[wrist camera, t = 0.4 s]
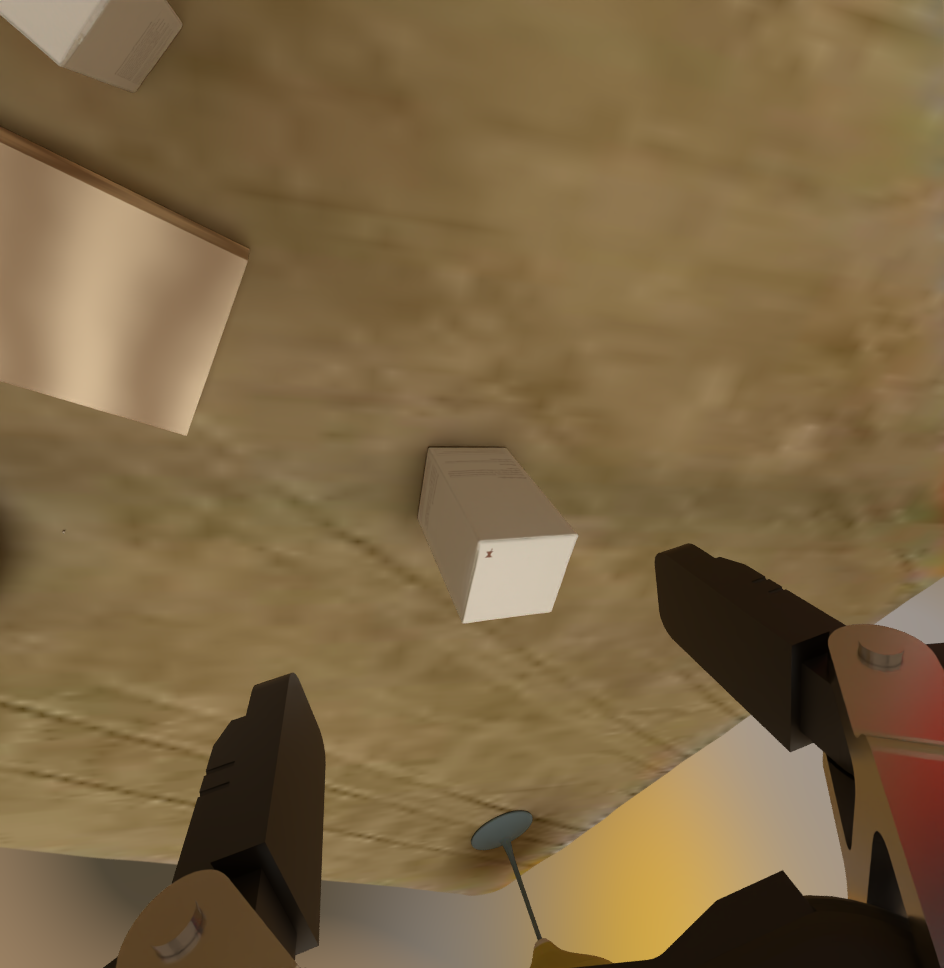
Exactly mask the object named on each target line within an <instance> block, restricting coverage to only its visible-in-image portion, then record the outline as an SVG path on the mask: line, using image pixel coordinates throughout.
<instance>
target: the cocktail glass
mask: <svg viewBox="0 0 944 968" xmlns="http://www.w3.org/2000/svg"><path fill="white" fill-rule="evenodd" d="M531 823H532V815H531V814H530V813H529V812H527V811H513V812H509V813H505V814H502V815H500V816H498V817H496V818H494V819H492V820H490V821H489V822H487V823H486V824H484V825H483V826H482V827H480V828H479V829H478V830H477V831H476V833H475V834H474V835H473V837H472V840H471V844H472V846H473V847H474V848H475V849H478V850H489V849H493V848H497V847H500V846H502V845H503V847H504V849H505V851H506V853H507V855H508V857H509V860H510V862H511V865H512V867H513V870H514V873H515V876H516V879H517V881H518V884H519V887H520V890H521V893H522V896H523V898H524V901H525V904H526V907H527V910H528V913H529V915H530V919H531V921H532V924H533V927H534V930H535V933H536V936H537V939H538V941H537V942H536V944H535V947H534V951H533V958H532V964H531V967H530V968H574V967H583V966H593V965H603V964H613V963H612V962H610V961H608V960H606V959H604V958H601V957H597V956H592V955H586V954H578V953H572V952H567V951H564V950H561V949H559V948H558V947H557V946H555V945H554V944H553V943H552V942H551V941H549V940H547V939H546V938H542V937H541V934H540V932H539V929H538V926H537V923H536V920H535V917H534V915H533V912H532V909H531V906H530V903H529V900H528V897H527V894H526V891H525V888H524V885H523V882H522V880H521V876H520V873H519V870H518V867H517V864H516V861H515V858H514V854H513V850H512V845H511V841H513V840H514V839H516V838H517V837H519V836H520V835H521V834H523V833H524V832H525V831H526V830H527V829H528V828H529V826H530V825H531Z"/></svg>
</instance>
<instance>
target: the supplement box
mask: <svg viewBox="0 0 944 968" xmlns="http://www.w3.org/2000/svg"><path fill="white" fill-rule="evenodd" d="M418 521H419V524H420V526H421V528H422V530H423V533H424V535H425V537H426V540H427V542H428V545H429V547H430V549H431V551H432V554H433V556H434V558H435V561H436V563H437V565H438V568H439V570H440V573H441V575H442V577H443V580H444V582H445V584H446V586H447V589H448V591H449V593H450V596H451V598H452V600H453V603H454V605H455V607H456V610H457V612H458V614H459V617H460V619H461V621H462V623H471V622H478V621H485V620H492V619H500V618H508V617H515V616H523V615H531V614H539V613H547V612H551V611H552V608H553V605H554V602H555V599H556V597H557V594H558V591H559V588H560V585H561V582H562V579H563V576H564V573H565V570H566V567H567V564H568V561H569V559H570V556H571V554H572V551H573V548H574V545H575V543H576V540H577V537H578V534H577V533H576V532H575V531H574V530H573V528H572V527H571V526H570V525H569V524H568V522H567V521H566V520H565V519H564V518H563V516H562V515H561V514H560V513H559V511H558V510H557V509H556V508H555V507H554V505H553V504H552V503H551V502H550V501H549V499H548V498H547V497H546V496H545V494H544V493H543V492H542V491H541V490H540V488H539V487H538V486H537V485H536V483H535V482H534V481H533V480H532V479H531V477H530V476H529V475H528V474H527V473H526V471H525V470H524V469H523V468H522V466H521V465H520V464H519V463H518V462H517V460H516V459H515V458H514V457H513V456H512V454H511V453H510V452H509V451H508V450H507V448H428V452H427V459H426V465H425V472H424V478H423V485H422V491H421V498H420V505H419V512H418Z"/></svg>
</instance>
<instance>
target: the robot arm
mask: <svg viewBox="0 0 944 968" xmlns="http://www.w3.org/2000/svg"><path fill="white" fill-rule="evenodd" d="M655 572H656V582H657V593H658V603H659V612H660V617H661V620H662V622H663V625H664V627H665V629H666V631H667V632H668V634H669V635H670V636H671V638H672V639H673V640H674V641H675V642H676V643H677V644H678V645H679V646H680V647H681V648H682V649H683V650H685V651H686V652H687V653H688V654H689V655H690V656H691V657H692V658H693V659H694V660H695V661H696V662H697V663H698V664H699V665H700V666H701V667H702V668H703V669H704V670H705V671H706V672H707V673H708V674H709V675H710V676H712V677H713V678H714V679H715V680H716V681H717V682H718V683H719V684H720V685H721V686H722V687H723V688H724V689H725V690H726V691H727V692H728V693H729V694H730V695H731V696H732V697H733V698H734V699H735V700H736V701H738V702H739V703H740V704H741V705H742V706H743V707H744V708H745V709H746V710H747V711H748V712H749V713H750V714H751V715H752V716H753V717H754V718H755V719H756V720H757V721H759V723H760V724H761V725H762V726H763V727H765V728H766V729H767V730H768V731H769V732H770V733H771V734H772V735H773V736H774V737H775V738H776V739H777V740H778V741H779V742H780V743H781V744H782V745H783V746H784V747H785V748H786V749H787V750H788V751H789V752H792V751H795V750H797V749H799V748H802V747H804V746H807V745H809V744H811V743H815V744H816V745H817V746H818V747H819V748H820V749H821V750H822V751H823V768H824V772H825V777H826V782H827V786H828V791H829V796H830V800H831V804H832V809H833V814H834V819H835V823H836V828H837V833H838V837H839V842H840V846H841V851H842V856H843V860H844V866H845V872H846V879H847V891H848V899H844V898H839V897H833V896H812V895H808V896H807V895H806V896H803V895H802V894H801V893H800V891H799V890H798V889H797V888H796V887H795V885H794V884H793V883H792V881H791V880H790V879H789V878H788V876H787V875H786V874H785V873H784V871H780V872H778V873H776V874H774V875H771V876H769V877H767V878H765V879H763V880H760V881H758V882H756V883H754V884H752V885H750V886H747V887H745V888H743V889H741V890H739V891H736V892H735V893H732V894H730V895H728V896H726V897H723V898H721V899H719V900H717V901H716V902H715V903H714V904H713V905H712V906H710V907H709V909H708V910H707V911H705V912H704V913H703V914H702V915H701V916H700V917H699V918H698V919H697V920H696V921H695V922H694V923H693V924H692V925H691V926H690V927H689V928H688V929H687V930H686V931H685V932H684V933H683V934H682V935H681V936H680V937H679V938H678V939H677V940H676V941H675V942H674V943H673V944H672V945H671V946H670V947H669V948H668V949H667V950H666V951H665V952H664V953H663V954H661V955H660V956H658V957H656V958H654V959H650V960H642V961H633V962H623V963H613V964H603V965H593V966H583V967H574V968H944V643H936V644H924V643H923V642H922V641H920V640H919V639H917V638H915V637H913V636H911V635H909V634H907V633H905V632H902V631H899V630H897V629H893V628H889V627H885V626H880V625H872V624H853V625H848V626H846V625H844V624H843V623H841V622H839V621H838V620H836V619H834V618H833V617H831V616H829V615H828V614H826V613H824V612H823V611H821V610H819V609H818V608H816V607H815V606H813V605H811V604H810V603H808V602H806V601H805V600H803V599H801V598H800V597H798V596H796V595H795V594H793V593H791V592H790V591H788V590H786V589H785V590H783V589H782V587H781V586H780V585H778V584H776V583H775V582H773V581H772V580H770V579H768V580H766V578H765V576H763V575H762V574H760V573H758V572H757V571H755V570H753V569H752V568H750V567H748V566H747V565H745V564H742V563H738V562H735V561H732V560H728V559H725V558H722V557H718V558H714V557H712V556H711V555H709V554H708V553H706V552H705V551H703V550H701V549H700V548H698V547H697V546H695V545H693V544H685V545H682V546H679V547H676V548H673V549H670V550H667V551H664V552H661V553H658V554H657V555H656V557H655ZM324 790H325V750H324V744H323V739H322V736H321V732H320V729H319V727H318V724H317V722H316V720H315V717H314V715H313V712H312V710H311V708H310V705H309V703H308V700H307V698H306V695H305V693H304V691H303V688H302V686H301V683H300V681H299V679H298V677H297V676H296V674H295V673H290V674H287V675H284V676H281V677H278V678H275V679H272V680H269V681H266V682H263V683H260V684H257V685H255V686H254V687H253V689H252V693H251V697H250V701H249V705H248V709H247V713H246V716H244V717H241V718H238V719H235V720H232V721H231V722H230V723H229V725H228V726H227V727H226V729H225V730H224V732H223V733H222V734H221V736H220V737H219V739H218V740H217V741H216V743H215V744H214V746H213V749H212V752H211V756H210V759H209V762H208V765H207V769H206V776H204V779H203V782H202V785H201V789H200V797H198V799H197V802H196V805H195V808H194V812H193V815H192V818H191V822H190V825H189V828H188V832H187V835H186V838H185V841H184V845H183V848H182V851H181V855H180V858H179V861H178V865H177V868H176V871H175V874H174V878H173V881H172V884H171V885H170V886H168V887H167V888H165V889H164V890H163V891H162V892H161V893H160V894H158V895H157V896H156V897H155V898H154V899H153V900H152V901H151V902H150V903H149V904H148V906H146V908H145V909H144V910H143V911H142V912H141V914H140V915H139V916H138V918H137V919H136V920H135V922H134V923H133V925H132V926H131V928H130V930H129V931H128V933H127V935H126V937H125V939H124V941H123V944H122V946H121V948H120V951H119V955H118V957H117V958H116V959H114V960H113V961H111V962H110V963H109V964H108V965H106V966H105V967H103V968H300V967H299V965H298V964H297V963H296V962H295V955H297V954H300V953H302V952H304V951H307V950H309V949H312V948H314V947H317V946H319V923H320V896H321V870H322V843H323V817H324Z"/></svg>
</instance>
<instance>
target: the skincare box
mask: <svg viewBox="0 0 944 968" xmlns="http://www.w3.org/2000/svg"><path fill="white" fill-rule="evenodd" d="M0 15H1V16H2V17H3V18H4V19H6V20H7V21H8V22H9V23H10V24H11V25H13V26H14V27H15V28H16V29H17V30H18V31H19V32H21V33H22V34H23V35H24V36H25V37H26V38H28V39H29V40H30V41H31V42H32V43H33V44H35V45H36V46H37V47H38V48H39V49H40V50H42V51H43V52H44V53H45V54H46V55H47V56H49V57H50V58H51V59H52V60H53V61H54V62H55V63H56V64H57V65H59V66H60V67H63V68H66V69H69V70H72V71H75V72H77V73H80V74H83V75H85V76H88V77H91V78H93V79H96V80H99V81H102V82H104V83H107V84H110V85H113V86H115V87H118V88H121V89H123V90H126V91H129V92H132V93H135V92H136V90H137V89H138V88H139V86H140V85H141V83H142V82H143V80H144V79H145V78H146V76H147V75H148V74H149V72H150V71H151V69H152V68H153V67H154V65H155V64H156V63H157V61H158V60H159V59H160V57H161V56H162V54H163V53H164V52H165V50H166V49H167V48H168V46H169V45H170V43H171V42H172V41H173V39H174V38H175V36H176V35H177V33H178V32H179V31H180V29H181V28H182V22H181V20H180V19H179V17H178V16H177V14H176V13H175V12H174V10H173V9H172V7H171V6H170V5H169V3H168V2H167V0H0Z"/></svg>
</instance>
